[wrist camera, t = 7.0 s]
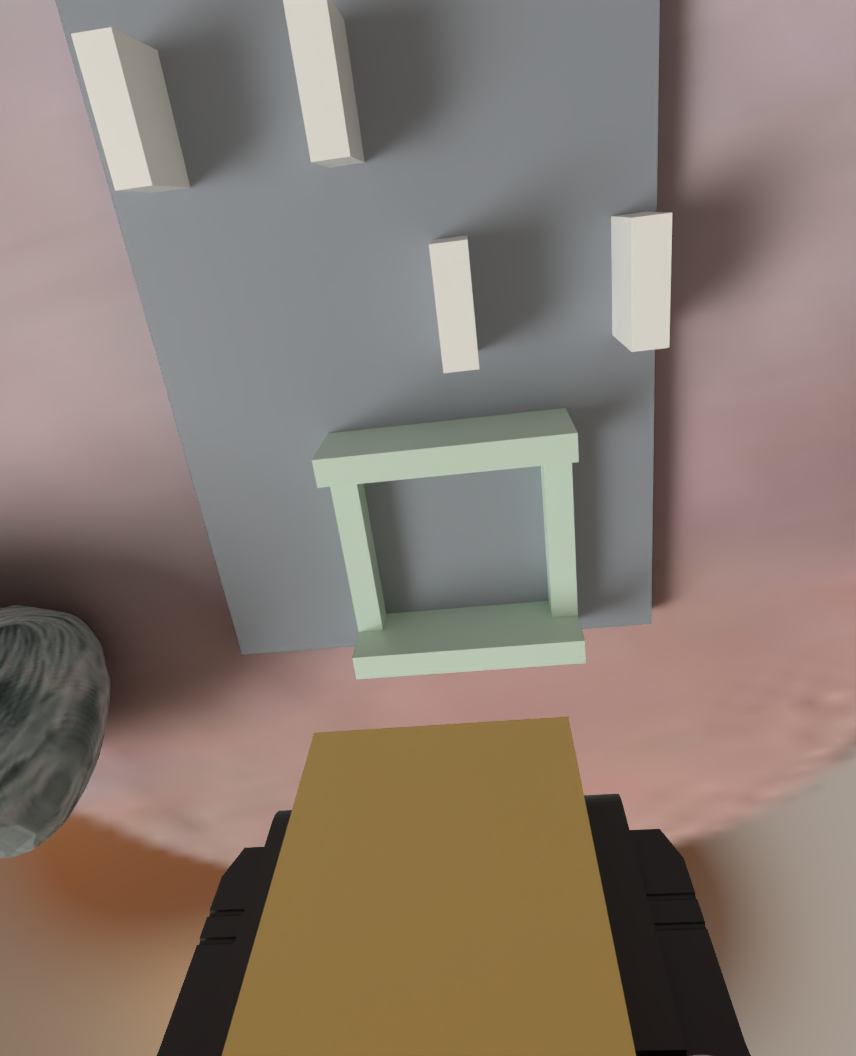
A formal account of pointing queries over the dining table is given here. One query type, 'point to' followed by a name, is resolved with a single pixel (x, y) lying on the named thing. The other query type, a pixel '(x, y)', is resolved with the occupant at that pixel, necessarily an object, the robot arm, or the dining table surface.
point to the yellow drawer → (436, 903)
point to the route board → (398, 292)
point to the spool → (46, 721)
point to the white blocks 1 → (146, 116)
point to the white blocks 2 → (635, 289)
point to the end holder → (468, 631)
